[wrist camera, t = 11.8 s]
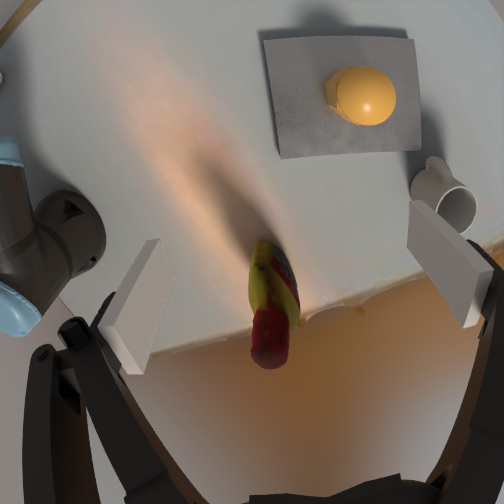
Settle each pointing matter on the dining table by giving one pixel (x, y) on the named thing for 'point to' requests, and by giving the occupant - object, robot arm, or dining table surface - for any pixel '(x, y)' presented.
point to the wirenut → (361, 95)
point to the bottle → (272, 305)
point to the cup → (445, 194)
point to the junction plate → (315, 99)
